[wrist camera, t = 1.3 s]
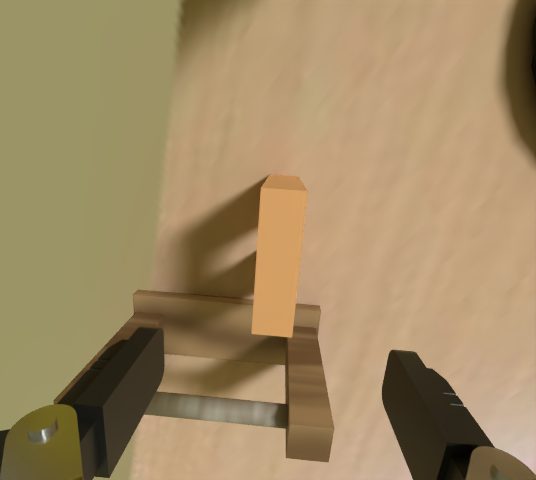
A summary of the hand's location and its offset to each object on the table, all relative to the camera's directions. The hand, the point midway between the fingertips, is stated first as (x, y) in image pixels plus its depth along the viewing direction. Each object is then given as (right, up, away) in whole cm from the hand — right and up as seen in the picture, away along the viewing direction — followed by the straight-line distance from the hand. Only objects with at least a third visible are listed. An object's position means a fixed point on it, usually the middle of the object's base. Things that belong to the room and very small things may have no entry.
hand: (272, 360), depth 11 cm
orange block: (+1, +6, +20) cm, 21 cm away
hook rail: (-5, -5, +24) cm, 25 cm away
